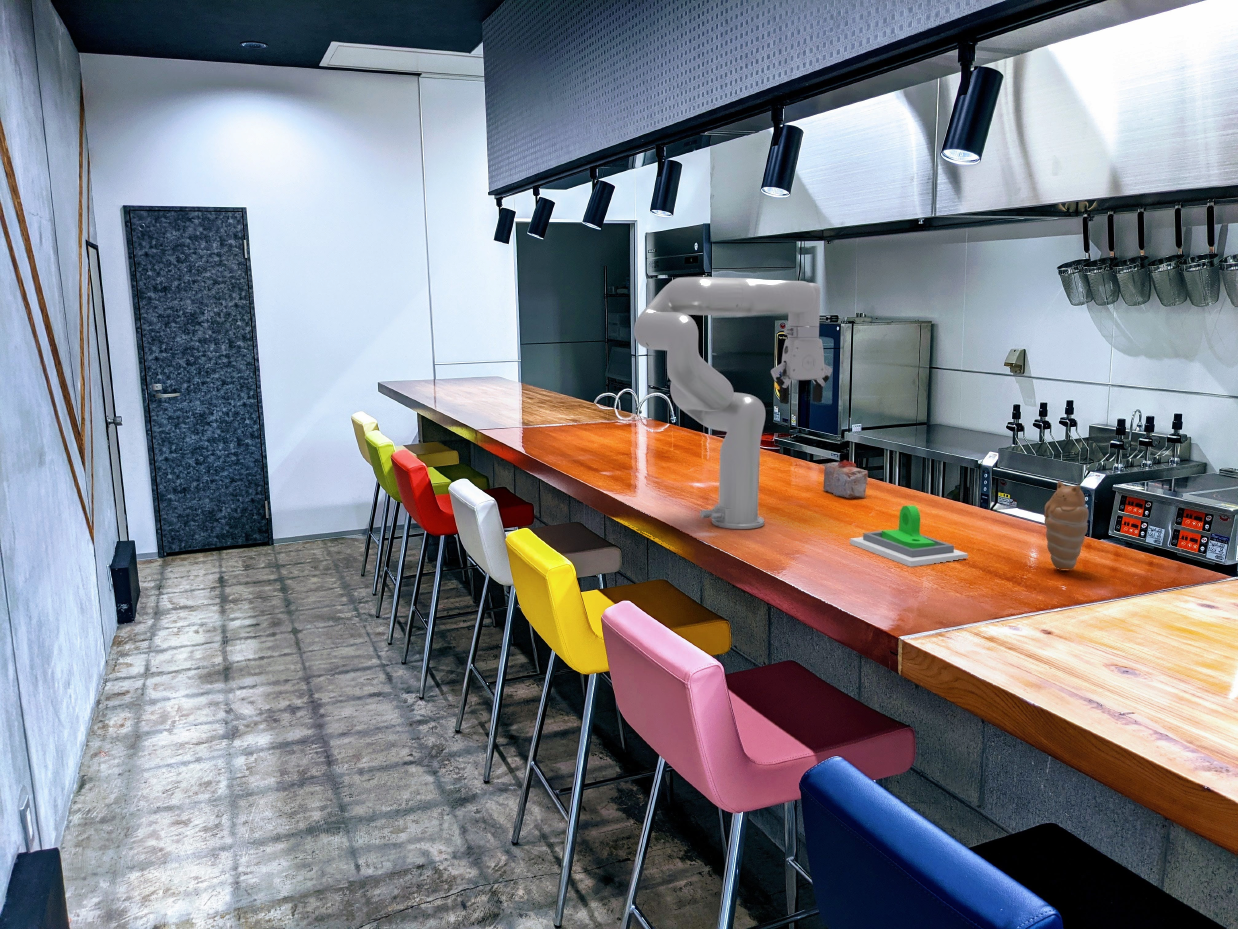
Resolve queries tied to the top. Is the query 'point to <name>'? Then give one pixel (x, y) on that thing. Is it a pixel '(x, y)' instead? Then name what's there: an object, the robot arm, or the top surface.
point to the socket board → (908, 550)
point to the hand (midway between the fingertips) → (800, 402)
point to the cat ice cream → (1066, 525)
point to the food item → (845, 479)
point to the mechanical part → (908, 530)
